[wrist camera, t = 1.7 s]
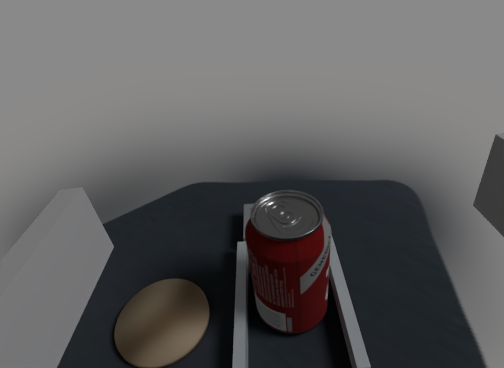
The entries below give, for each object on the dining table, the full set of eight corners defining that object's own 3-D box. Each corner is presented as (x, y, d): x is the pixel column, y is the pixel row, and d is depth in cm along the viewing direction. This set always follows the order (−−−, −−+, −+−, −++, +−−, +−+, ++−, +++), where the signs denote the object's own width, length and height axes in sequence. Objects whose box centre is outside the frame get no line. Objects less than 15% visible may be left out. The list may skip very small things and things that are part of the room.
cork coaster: (96, 346, 30) (93, 343, 29) (156, 272, 36) (155, 269, 36) (174, 386, 26) (172, 383, 26) (226, 296, 32) (225, 293, 32)
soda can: (284, 353, 27) (276, 260, 20) (244, 298, 32) (226, 207, 25) (342, 311, 30) (352, 216, 23) (296, 266, 35) (293, 175, 28)
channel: (367, 379, 25) (370, 367, 24) (235, 386, 26) (232, 375, 24) (330, 246, 36) (331, 234, 35) (239, 254, 37) (237, 241, 36)
